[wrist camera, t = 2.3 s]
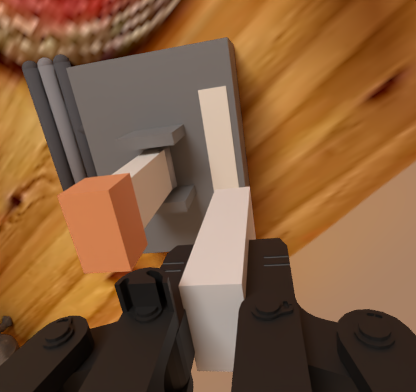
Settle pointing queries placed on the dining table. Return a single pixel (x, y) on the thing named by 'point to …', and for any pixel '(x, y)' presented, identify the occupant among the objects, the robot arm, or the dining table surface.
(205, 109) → the switch block
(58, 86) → the cable bundle
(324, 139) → the dining table surface
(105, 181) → the toggle lever
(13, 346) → the rhino figurine
